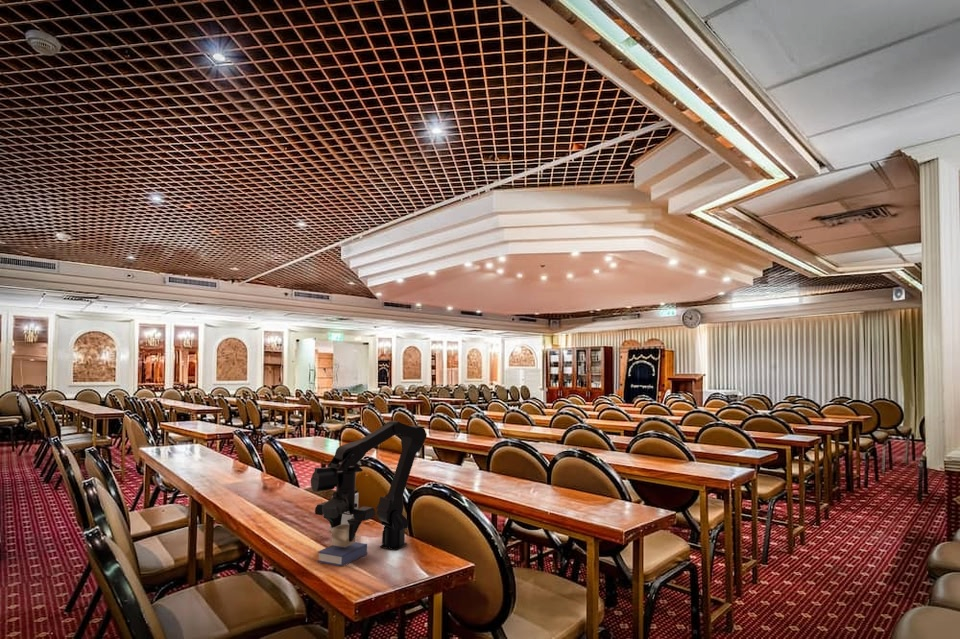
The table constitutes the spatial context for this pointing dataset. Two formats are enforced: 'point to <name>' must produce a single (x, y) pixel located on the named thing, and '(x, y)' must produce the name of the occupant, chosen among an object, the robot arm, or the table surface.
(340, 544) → the beech block
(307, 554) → the table surface
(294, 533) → the table surface
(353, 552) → the navy book
